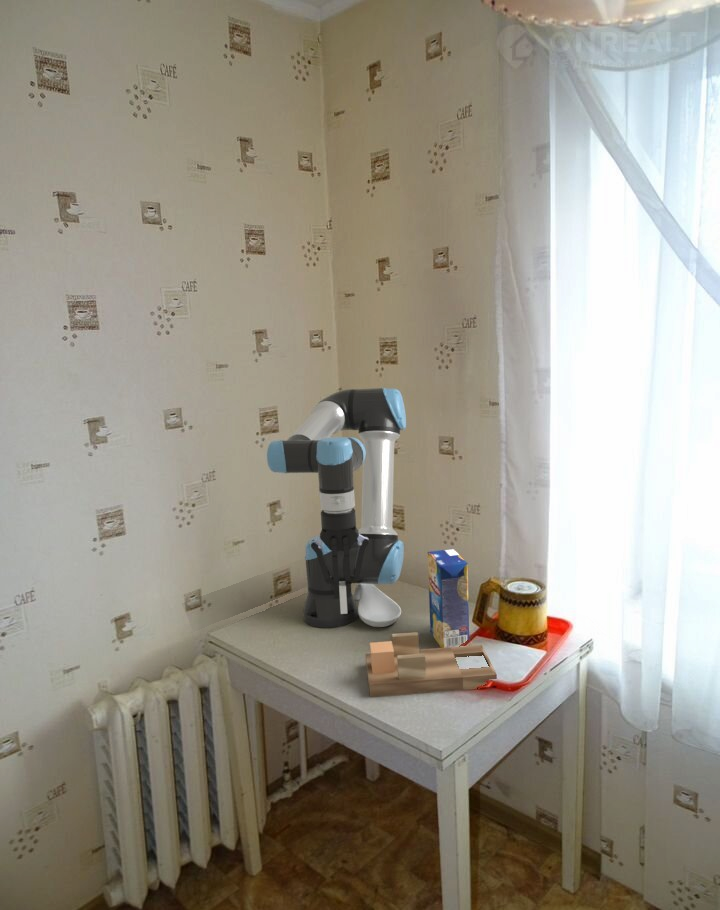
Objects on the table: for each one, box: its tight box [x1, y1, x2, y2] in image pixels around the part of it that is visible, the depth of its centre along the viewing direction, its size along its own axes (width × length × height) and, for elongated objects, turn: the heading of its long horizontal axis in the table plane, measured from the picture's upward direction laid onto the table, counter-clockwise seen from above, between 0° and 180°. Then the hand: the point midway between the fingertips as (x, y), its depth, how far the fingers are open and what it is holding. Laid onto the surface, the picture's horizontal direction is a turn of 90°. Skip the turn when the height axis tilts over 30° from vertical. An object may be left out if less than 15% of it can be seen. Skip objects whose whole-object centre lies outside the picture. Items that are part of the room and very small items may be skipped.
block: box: [369, 640, 395, 674], centre depth 153 cm, size 5×5×5 cm
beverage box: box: [427, 548, 470, 648], centre depth 170 cm, size 7×11×22 cm, turn 11°
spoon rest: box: [353, 583, 402, 628], centre depth 188 cm, size 24×12×7 cm, turn 18°
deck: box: [365, 631, 498, 698], centre depth 154 cm, size 14×28×8 cm, turn 93°
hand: (343, 611), depth 150 cm, fingers closed
